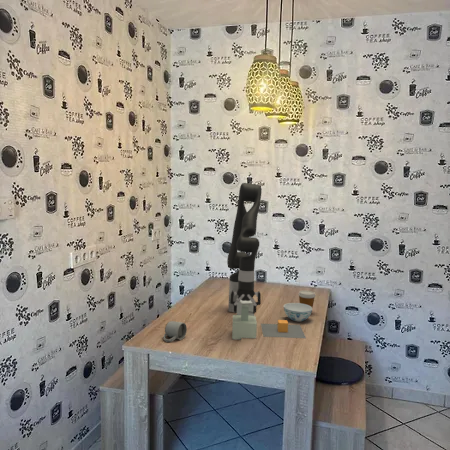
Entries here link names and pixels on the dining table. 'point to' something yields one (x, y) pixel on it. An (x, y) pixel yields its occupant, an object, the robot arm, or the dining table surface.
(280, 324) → the orange block
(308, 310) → the chinaware
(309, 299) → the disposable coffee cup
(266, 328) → the grey mat
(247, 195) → the robot arm
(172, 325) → the ceramic mug
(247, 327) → the sage cover
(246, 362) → the dining table surface
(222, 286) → the dining table surface
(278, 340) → the dining table surface
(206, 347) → the dining table surface
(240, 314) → the supplement box
